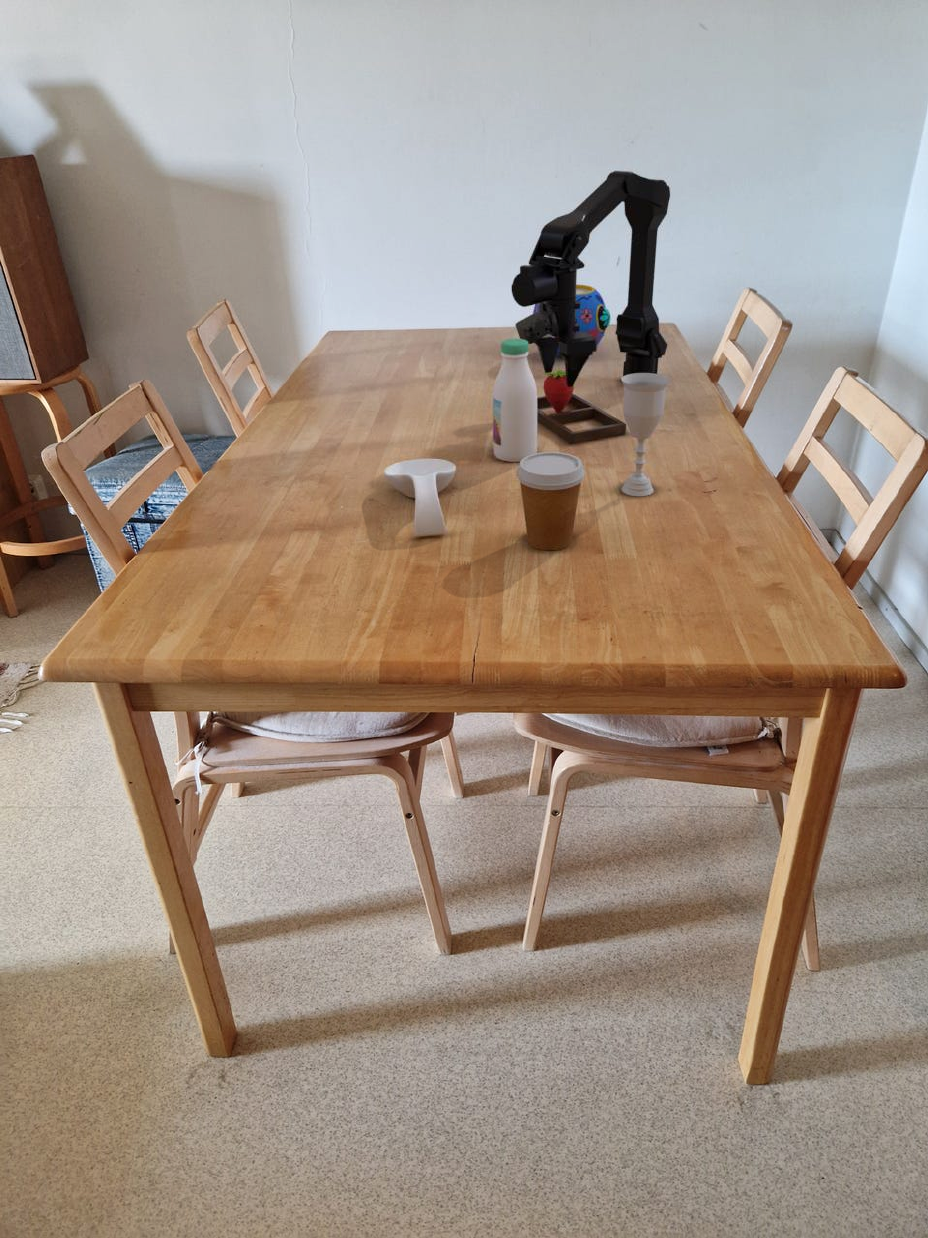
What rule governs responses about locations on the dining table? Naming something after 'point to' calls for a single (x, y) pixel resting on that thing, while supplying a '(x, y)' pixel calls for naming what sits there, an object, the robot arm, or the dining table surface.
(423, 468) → the spoon rest
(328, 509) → the dining table surface
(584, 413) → the brown divided wooden frame
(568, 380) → the robot arm
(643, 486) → the chalice
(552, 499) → the disposable coffee cup
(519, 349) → the milk bottle
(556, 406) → the strawberry
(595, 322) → the ceramic pot
